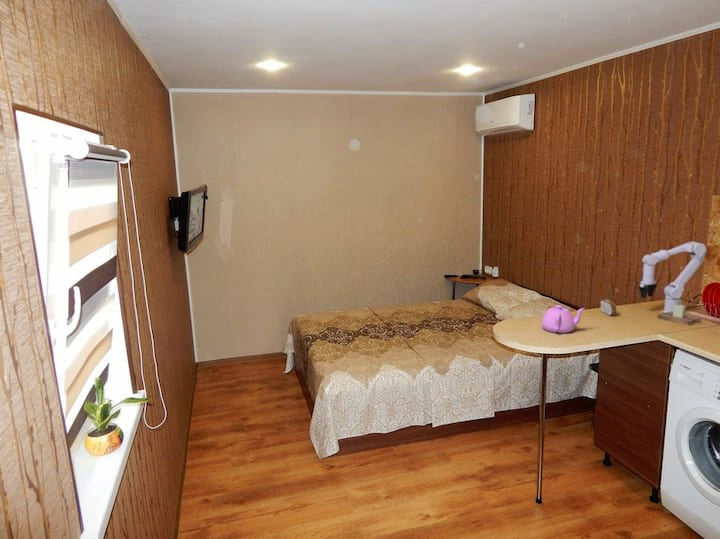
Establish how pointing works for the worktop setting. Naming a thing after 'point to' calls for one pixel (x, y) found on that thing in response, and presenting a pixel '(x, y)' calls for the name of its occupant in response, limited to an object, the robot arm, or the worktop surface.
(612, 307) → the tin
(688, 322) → the walnut slab
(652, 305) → the worktop surface
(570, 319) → the teapot
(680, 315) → the sage block
